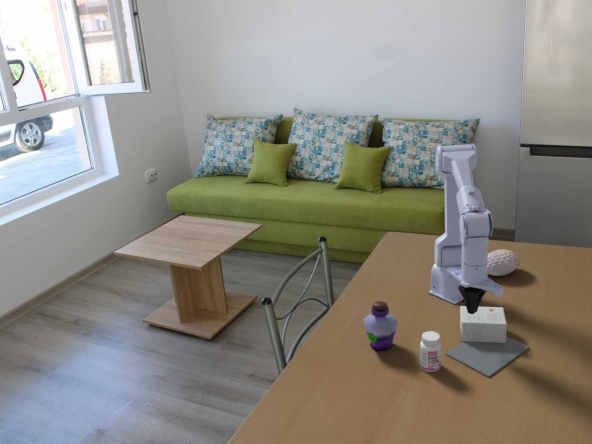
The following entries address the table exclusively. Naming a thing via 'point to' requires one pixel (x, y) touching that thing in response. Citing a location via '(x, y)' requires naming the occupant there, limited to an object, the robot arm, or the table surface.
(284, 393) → the table surface
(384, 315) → the potion bottle
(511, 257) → the decorative item
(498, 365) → the mat
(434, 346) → the pill bottle
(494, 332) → the small box
